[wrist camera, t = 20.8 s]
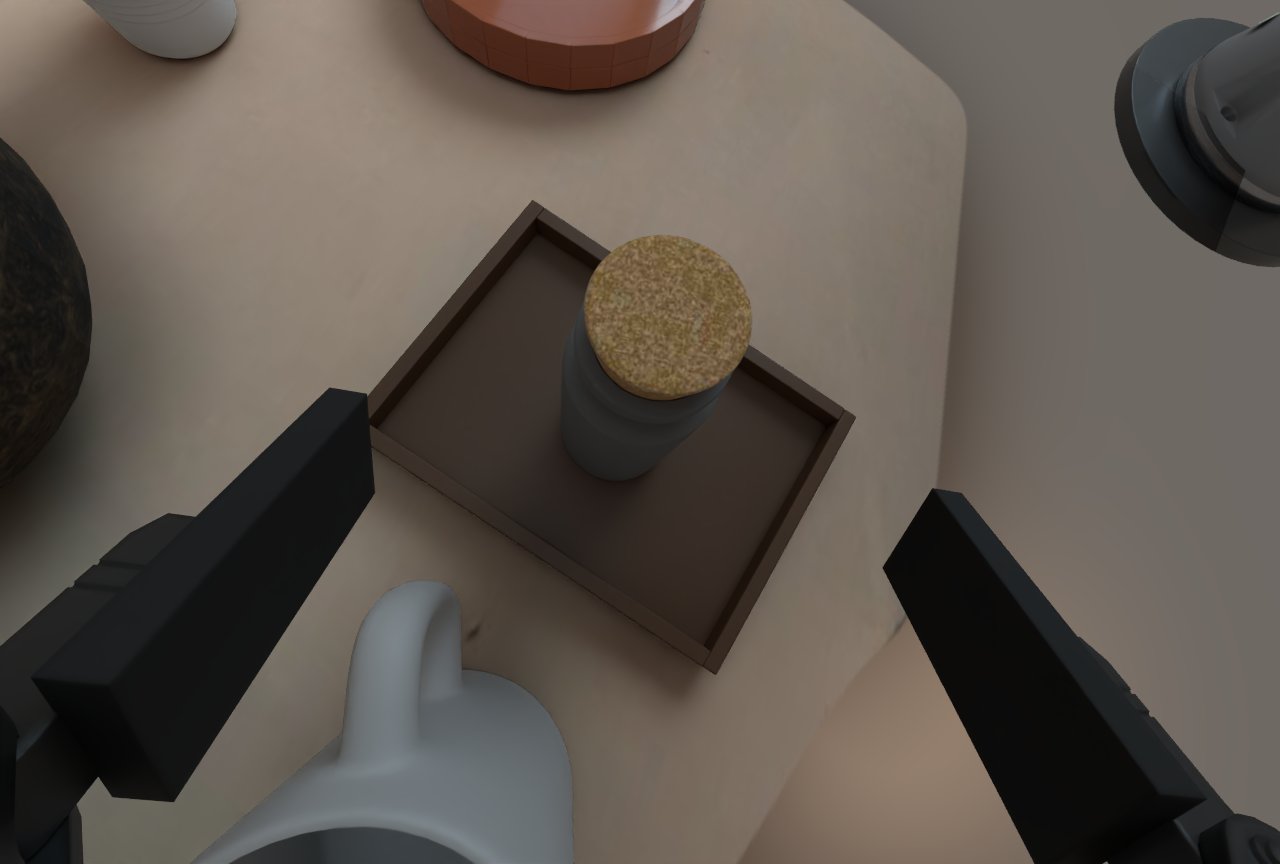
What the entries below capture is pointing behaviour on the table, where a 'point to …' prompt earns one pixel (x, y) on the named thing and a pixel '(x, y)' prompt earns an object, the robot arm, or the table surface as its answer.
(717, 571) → the tray
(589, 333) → the bottle
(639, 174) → the table surface
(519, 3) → the terracotta bowl
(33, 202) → the bowl
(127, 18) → the cup
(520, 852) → the mug
